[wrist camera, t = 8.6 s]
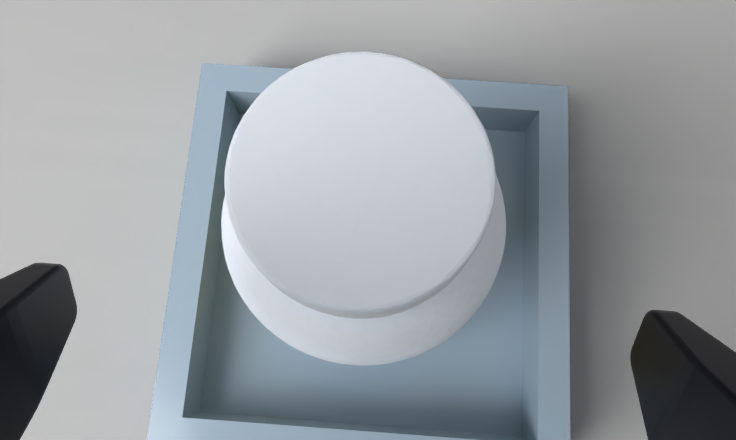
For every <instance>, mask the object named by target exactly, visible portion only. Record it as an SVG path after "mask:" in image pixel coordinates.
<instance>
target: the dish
mask: <svg viewBox="0 0 736 440" xmlns="http://www.w3.org/2000/svg"><path fill="white" fill-rule="evenodd" d="M290 70H292V69H288V68H272V67H256V66H240V65H224V64H208V63H202V68H201V74H200V81H199V88H198V95H197V102H196V108H195V115H194V122H193V129H192V136H191V142H190V149H189V156H188V163H187V170H186V176H185V183H184V190H183V197H182V203H181V210H180V217H179V224H178V231H177V237H176V244H175V251H174V258H173V265H172V271H171V278H170V285H169V292H168V299H167V305H166V312H165V319H164V326H163V333H162V339H161V346H160V353H159V360H158V366H157V373H156V380H155V387H154V394H153V400H152V407H151V414H150V421H149V428H148V434H147V440H570V302H569V154H568V86H557V85H541V84H526V83H510V82H494V81H478V80H462V79H446V78H443V79H445V80H446V81H447V82H449V83H450V84H451V85H452V86H453V87H454V88H455V89H456V90H457V91H458V92H459V93H460V94H461V95H462V96H463V97H464V98H465V99H466V101H467V102H468V103H469V104H470V106H471V107H472V108H473V109H474V111H475V113H476V115H477V116H478V118H479V120H480V121H481V123H482V125H483V126H484V129H485V131H486V133H487V136H488V139H489V142H490V145H491V148H492V153H493V157H494V163H495V172H496V176H497V179H498V181H499V184H500V188H501V191H502V195H503V200H504V206H505V214H506V238H505V247H504V252H503V256H502V261H501V264H500V267H499V270H498V273H497V276H496V278H495V280H494V283H493V285H492V287H491V289H490V291H489V293H488V295H487V296H486V298H485V300H484V301H483V303H482V304H481V305H480V307H479V308H478V310H477V311H476V312H475V313H474V315H473V316H472V317H471V318H470V319H469V320H468V321H467V322H466V323H465V324H464V325H463V326H462V327H461V328H460V329H459V330H458V331H457V332H456V333H454V334H453V335H452V336H451V337H449V338H448V339H447V340H445V341H444V342H442V343H441V344H439V345H437V346H436V347H434V348H432V349H430V350H428V351H426V352H424V353H422V354H420V355H418V356H415V357H411V358H408V359H405V360H401V361H397V362H393V363H388V364H381V365H365V366H360V365H346V364H339V363H334V362H330V361H325V360H322V359H319V358H316V357H314V356H311V355H308V354H306V353H304V352H302V351H299V350H297V349H295V348H294V347H292V346H290V345H288V344H287V343H286V342H284V341H283V340H281V339H280V338H278V337H277V336H276V335H274V334H273V333H272V332H271V331H269V330H268V329H267V328H266V327H265V326H264V325H263V324H262V323H261V322H260V321H259V320H258V319H257V318H256V317H255V315H254V314H253V313H252V312H251V311H250V309H249V308H248V306H247V305H246V304H245V302H244V301H243V299H242V298H241V296H240V294H239V292H238V291H237V289H236V287H235V285H234V282H233V280H232V277H231V275H230V272H229V270H228V267H227V263H226V259H225V255H224V249H223V243H222V229H221V218H222V208H223V202H224V197H225V187H224V177H225V166H226V159H227V155H228V151H229V147H230V144H231V141H232V138H233V135H234V133H235V130H236V129H237V127H238V125H239V123H240V121H241V119H242V117H243V116H244V114H245V113H246V111H247V110H248V109H249V107H250V106H251V105H252V103H253V102H254V101H255V100H256V98H257V97H258V96H259V95H260V94H261V93H262V92H263V91H264V90H265V89H266V88H267V87H268V86H269V85H270V84H272V83H273V82H274V81H275V80H277V79H278V78H279V77H281V76H282V75H284V74H286V73H287V72H289V71H290Z"/></svg>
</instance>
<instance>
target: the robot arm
mask: <svg viewBox="0 0 736 440" xmlns="http://www.w3.org/2000/svg"><path fill="white" fill-rule="evenodd" d="M76 315H77V305H76V301H75V297H74V293H73V289H72V285H71V281H70V277H69V274H68V271H67V269H66V268H65V267H64V266H63V265H61V264H51V263H34V264H32V265H30V266H28V267H25V268H23V269H21V270H19V271H17V272H15V273H13V274H10V275H8V276H6V277H4V278H2V279H0V440H20V438H21V436H22V435H23V433H24V431H25V429H26V428H27V426H28V424H29V422H30V420H31V419H32V417H33V415H34V413H35V411H36V409H37V407H38V405H39V403H40V401H41V399H42V397H43V395H44V392H45V390H46V388H47V386H48V383H49V381H50V378H51V376H52V374H53V371H54V369H55V367H56V364H57V362H58V360H59V357H60V355H61V353H62V350H63V348H64V346H65V343H66V341H67V339H68V336H69V334H70V332H71V329H72V327H73V325H74V322H75V319H76ZM630 359H631V367H632V371H633V375H634V380H635V384H636V388H637V393H638V397H639V401H640V406H641V410H642V414H643V419H644V423H645V428H646V432H647V436H648V440H736V352H734V351H733V350H731V349H730V348H729V347H727V346H726V345H724V344H723V343H721V342H720V341H719V340H717V339H716V338H714V337H713V336H711V335H710V334H709V333H707V332H706V331H704V330H703V329H701V328H700V327H699V326H697V325H696V324H694V323H693V322H691V321H690V320H689V319H687V318H686V317H684V316H683V315H681V314H680V313H678V312H674V311H663V310H651V311H649V312H648V313H647V314H646V315H645V317H644V319H643V321H642V324H641V326H640V329H639V331H638V334H637V336H636V339H635V341H634V344H633V346H632V350H631V358H630Z"/></svg>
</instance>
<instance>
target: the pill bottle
mask: <svg viewBox="0 0 736 440" xmlns="http://www.w3.org/2000/svg"><path fill="white" fill-rule="evenodd" d="M224 187H225V197H224V202H223V208H222V218H221V229H222V243H223V249H224V255H225V259H226V263H227V267H228V270H229V272H230V275H231V277H232V280H233V282H234V285H235V287H236V289H237V291H238V292H239V294H240V296H241V298H242V299H243V301H244V302H245V304H246V305H247V306H248V308H249V309H250V311H251V312H252V313H253V314H254V315H255V317H256V318H257V319H258V320H259V321H260V322H261V323H262V324H263V325H264V326H265V327H266V328H267V329H268V330H269V331H271V332H272V333H273V334H274V335H276V336H277V337H278V338H280V339H281V340H283V341H284V342H286V343H287V344H288V345H290V346H292V347H294V348H295V349H297V350H299V351H302V352H304V353H306V354H308V355H311V356H314V357H316V358H319V359H322V360H325V361H330V362H334V363H339V364H346V365H360V366H365V365H381V364H388V363H393V362H397V361H401V360H405V359H408V358H411V357H415V356H418V355H420V354H422V353H424V352H426V351H428V350H430V349H432V348H434V347H436V346H437V345H439V344H441V343H442V342H444V341H445V340H447V339H448V338H449V337H451V336H452V335H453V334H454V333H456V332H457V331H458V330H459V329H460V328H461V327H462V326H463V325H464V324H465V323H466V322H467V321H468V320H469V319H470V318H471V317H472V316H473V315H474V313H475V312H476V311H477V310H478V308H479V307H480V305H481V304H482V303H483V301H484V300H485V298H486V296H487V295H488V293H489V291H490V289H491V287H492V285H493V283H494V280H495V278H496V276H497V273H498V270H499V267H500V264H501V261H502V256H503V252H504V247H505V238H506V214H505V206H504V200H503V195H502V191H501V188H500V184H499V181H498V179H497V176H496V172H495V163H494V157H493V153H492V148H491V145H490V142H489V139H488V136H487V133H486V131H485V129H484V126H483V125H482V123H481V121H480V120H479V118H478V116H477V115H476V113H475V111H474V109H473V108H472V107H471V106H470V104H469V103H468V102H467V101H466V99H465V98H464V97H463V96H462V95H461V94H460V93H459V92H458V91H457V90H456V89H455V88H454V87H453V86H452V85H451V84H450V83H449V82H447V81H446V80H445V79H443V78H442V77H441V76H439V75H438V74H436V73H435V72H433V71H431V70H430V69H428V68H426V67H423V66H421V65H419V64H417V63H415V62H412V61H410V60H408V59H405V58H401V57H398V56H394V55H389V54H384V53H378V52H345V53H337V54H332V55H327V56H324V57H321V58H318V59H314V60H311V61H309V62H307V63H304V64H302V65H299V66H298V67H296V68H294V69H292V70H290V71H289V72H287V73H286V74H284V75H282V76H281V77H279V78H278V79H277V80H275V81H274V82H273V83H272V84H270V85H269V86H268V87H267V88H266V89H265V90H264V91H263V92H262V93H261V94H260V95H259V96H258V97H257V98H256V100H255V101H254V102H253V103H252V105H251V106H250V107H249V109H248V110H247V111H246V113H245V114H244V116H243V117H242V119H241V121H240V123H239V125H238V127H237V129H236V130H235V133H234V135H233V138H232V141H231V144H230V147H229V151H228V155H227V159H226V166H225V177H224Z"/></svg>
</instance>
